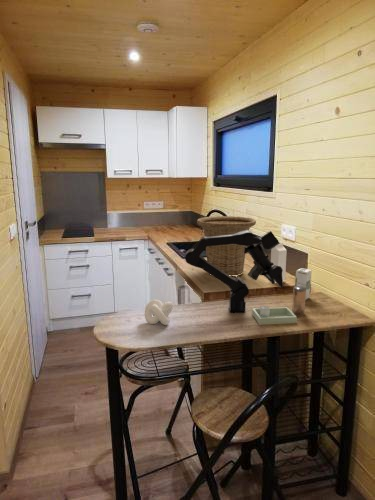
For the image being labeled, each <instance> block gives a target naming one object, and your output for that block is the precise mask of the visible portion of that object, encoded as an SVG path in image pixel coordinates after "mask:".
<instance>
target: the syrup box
mask: <svg viewBox="0 0 375 500" xmlns="http://www.w3.org/2000/svg"><path fill="white" fill-rule="evenodd" d="M312 272H313V271H312V270H311V269H308V268H303V267H302V268H299V269H297V270H295V278H294V279H295V280H294V287H295V286H302V287H305V288H306V298H305V301H307V300H308V299H309V298H310V297H311V296H310V295H311V286H312V285H311V283H312Z"/></svg>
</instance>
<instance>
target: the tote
mask: <svg viewBox="0 0 375 500" xmlns="http://www.w3.org/2000/svg"><path fill="white" fill-rule="evenodd" d="M251 314H252V316H253V318H254V320H256V323H258V325H259V326H261V325H282V324H283V325H284V324H297V322H298V320H297V319H298V316H297V315H294V314H293V313H292V310H290V308H289V307H287V306H285V307H282V306H281V307H270V314H269V317H266V318H261V317H260V307H257V308H251Z"/></svg>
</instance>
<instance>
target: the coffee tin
mask: <svg viewBox="0 0 375 500" xmlns="http://www.w3.org/2000/svg"><path fill="white" fill-rule="evenodd" d="M292 290H293V291H292V306H291V307H292V309H291V312H292V313H293V314H294V315H295V316H296V317H298V316H300V317H301V316H305V312H306V311H305V309H306V300H305V298H306V288H305V287H302V286H295V285H294V286H293V288H292Z"/></svg>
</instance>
